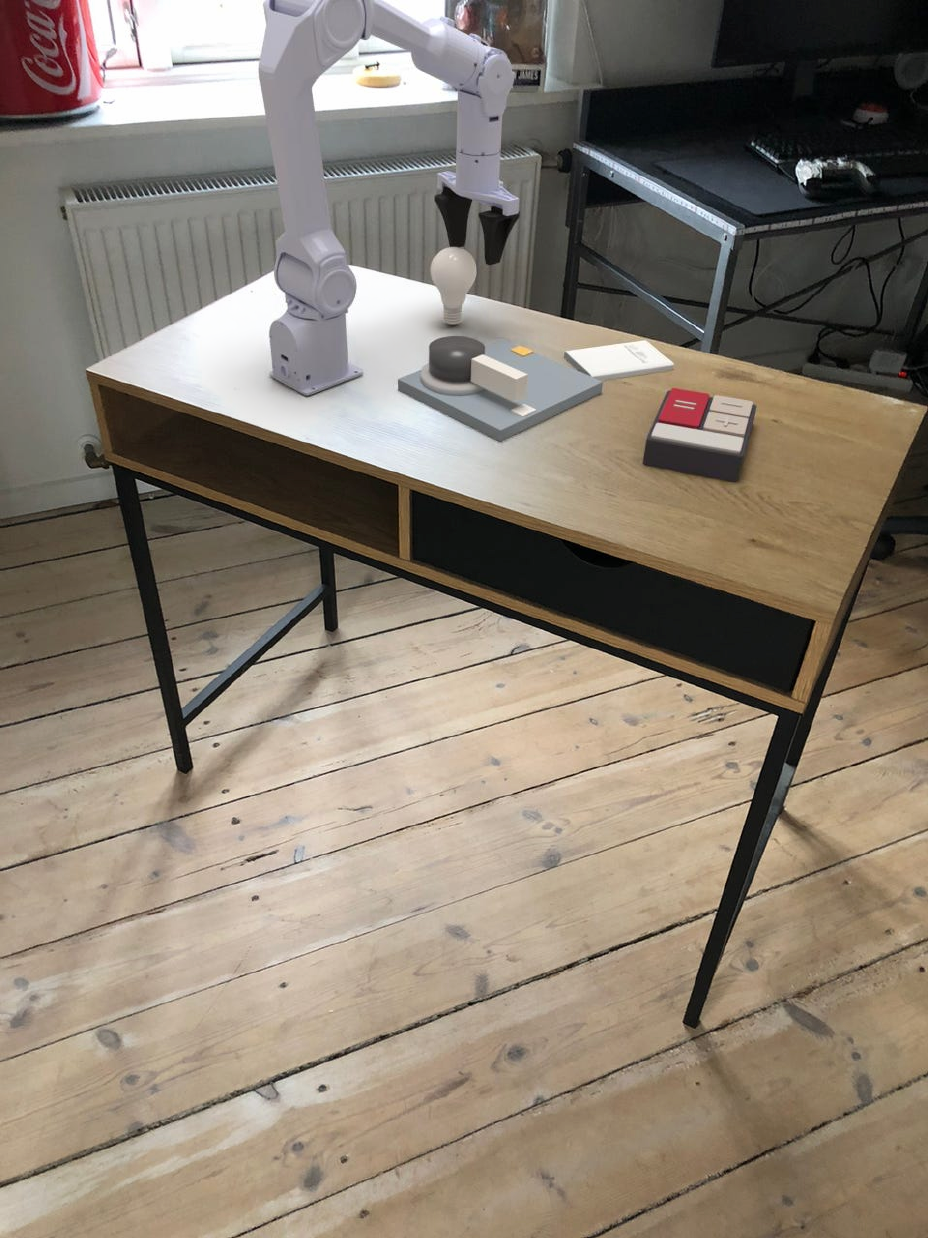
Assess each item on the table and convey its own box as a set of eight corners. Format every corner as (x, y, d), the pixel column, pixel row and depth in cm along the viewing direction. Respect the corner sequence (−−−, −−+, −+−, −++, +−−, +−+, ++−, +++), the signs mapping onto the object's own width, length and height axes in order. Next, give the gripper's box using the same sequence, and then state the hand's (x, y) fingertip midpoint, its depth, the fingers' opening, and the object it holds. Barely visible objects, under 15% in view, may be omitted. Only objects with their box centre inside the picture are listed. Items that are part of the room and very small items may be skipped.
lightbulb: (456, 337, 144) (458, 259, 137) (421, 325, 147) (421, 248, 140) (483, 323, 148) (486, 247, 141) (448, 312, 151) (449, 236, 144)
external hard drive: (563, 361, 140) (643, 348, 144) (590, 387, 134) (672, 373, 138) (564, 349, 139) (644, 337, 143) (591, 375, 133) (674, 362, 137)
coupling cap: (417, 368, 129) (417, 346, 128) (456, 352, 133) (457, 330, 131) (500, 408, 122) (501, 385, 120) (539, 390, 126) (541, 368, 124)
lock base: (499, 441, 121) (501, 422, 120) (398, 389, 131) (397, 371, 129) (601, 392, 132) (603, 374, 130) (500, 347, 142) (501, 330, 140)
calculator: (758, 398, 125) (745, 450, 113) (751, 430, 127) (737, 484, 116) (668, 383, 127) (646, 432, 116) (663, 415, 130) (641, 466, 118)
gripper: (539, 158, 130) (531, 264, 139) (466, 133, 139) (463, 234, 147) (497, 166, 127) (492, 275, 135) (425, 140, 135) (424, 244, 144)
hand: (474, 254), depth 141 cm, fingers open, 7 cm apart
